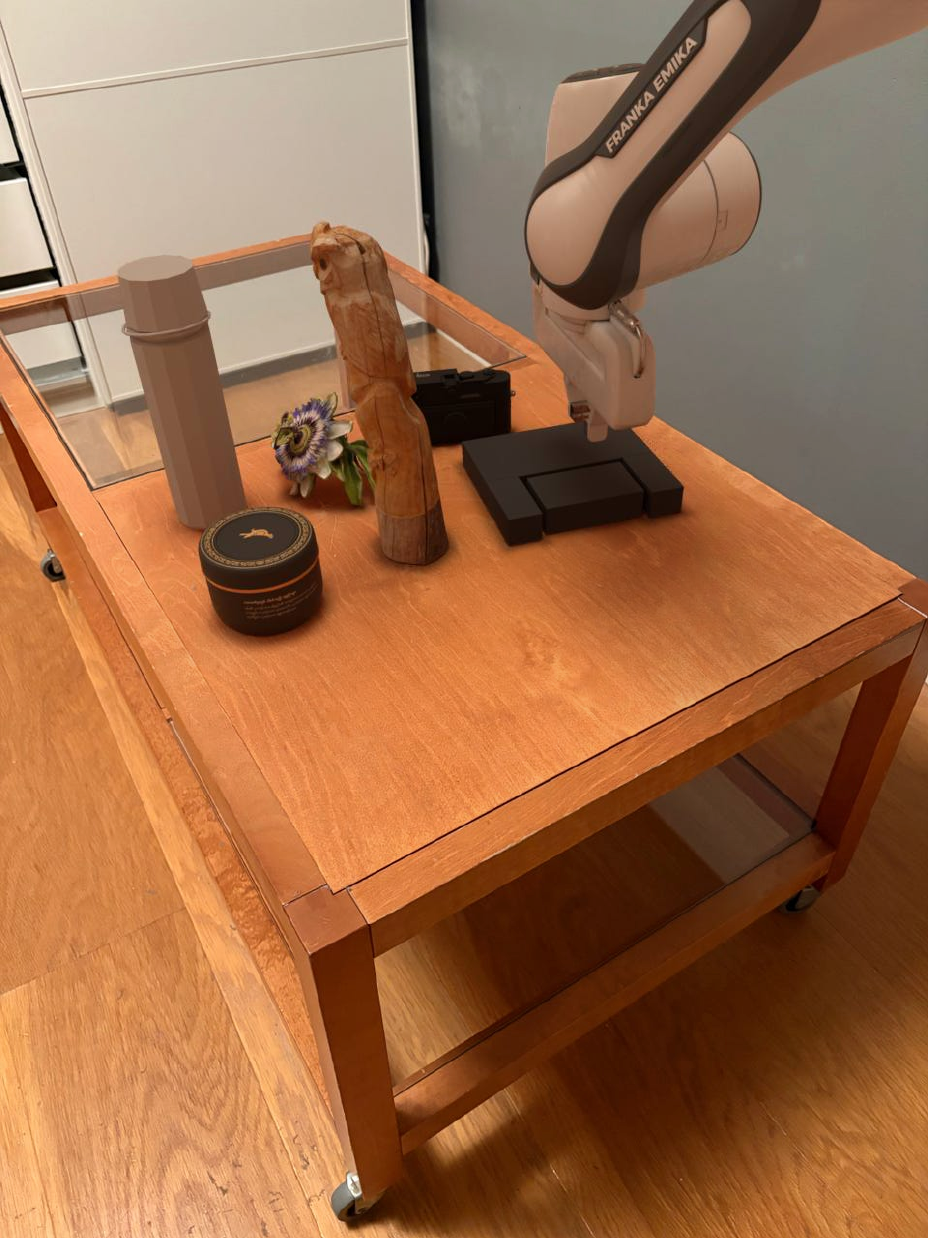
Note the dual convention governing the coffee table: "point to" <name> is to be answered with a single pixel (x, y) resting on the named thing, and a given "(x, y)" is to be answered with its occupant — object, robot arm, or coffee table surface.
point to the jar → (262, 570)
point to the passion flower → (320, 449)
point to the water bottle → (182, 386)
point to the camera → (464, 404)
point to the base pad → (552, 450)
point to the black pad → (586, 497)
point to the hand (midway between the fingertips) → (586, 428)
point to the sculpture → (382, 391)
